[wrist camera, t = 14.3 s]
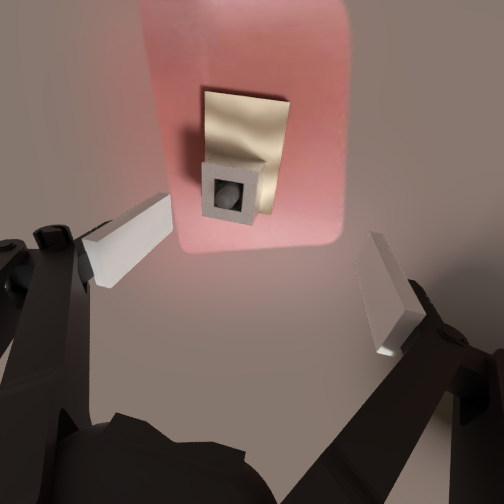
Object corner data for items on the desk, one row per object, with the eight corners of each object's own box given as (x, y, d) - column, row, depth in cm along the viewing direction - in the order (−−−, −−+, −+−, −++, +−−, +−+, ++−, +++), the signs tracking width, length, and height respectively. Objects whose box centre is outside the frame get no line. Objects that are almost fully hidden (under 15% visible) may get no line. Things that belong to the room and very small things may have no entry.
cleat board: (208, 91, 37) (173, 88, 28) (290, 102, 36) (283, 102, 26) (207, 200, 47) (181, 224, 38) (271, 212, 46) (261, 241, 36)
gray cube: (217, 153, 41) (201, 162, 35) (266, 161, 40) (258, 172, 34) (215, 201, 45) (202, 215, 40) (259, 209, 44) (252, 225, 39)
